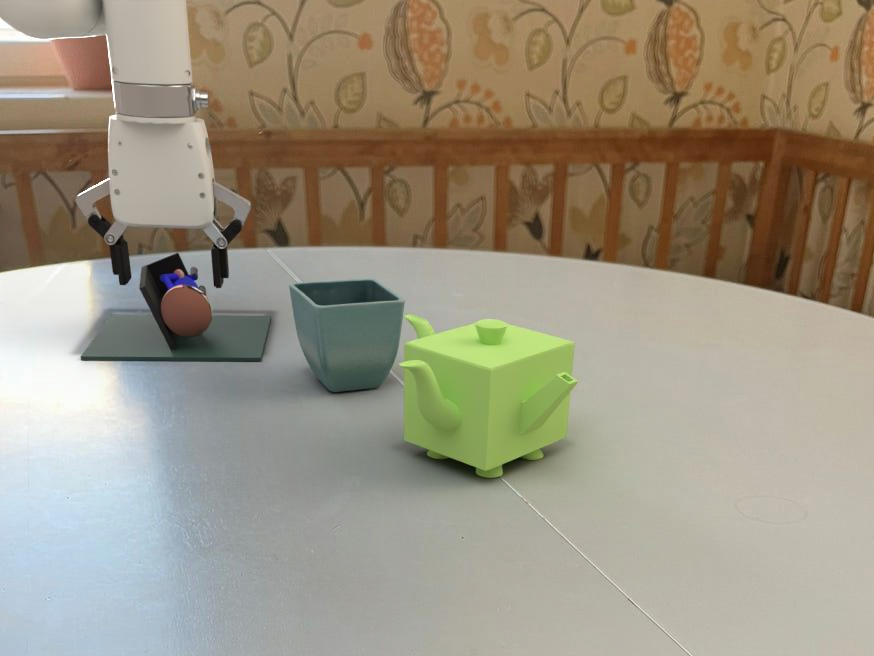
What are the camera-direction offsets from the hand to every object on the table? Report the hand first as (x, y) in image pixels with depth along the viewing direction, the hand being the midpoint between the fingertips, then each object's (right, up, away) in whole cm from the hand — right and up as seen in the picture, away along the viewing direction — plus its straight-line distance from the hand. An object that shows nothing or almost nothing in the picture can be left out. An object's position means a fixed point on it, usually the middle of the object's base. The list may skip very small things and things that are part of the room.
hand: (172, 283), depth 111 cm
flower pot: (+20, -13, -8) cm, 25 cm away
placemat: (0, -5, +3) cm, 6 cm away
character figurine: (0, -5, +3) cm, 6 cm away
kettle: (+32, -22, -22) cm, 45 cm away
